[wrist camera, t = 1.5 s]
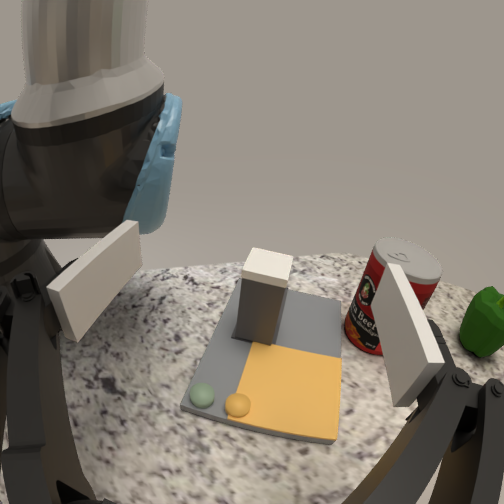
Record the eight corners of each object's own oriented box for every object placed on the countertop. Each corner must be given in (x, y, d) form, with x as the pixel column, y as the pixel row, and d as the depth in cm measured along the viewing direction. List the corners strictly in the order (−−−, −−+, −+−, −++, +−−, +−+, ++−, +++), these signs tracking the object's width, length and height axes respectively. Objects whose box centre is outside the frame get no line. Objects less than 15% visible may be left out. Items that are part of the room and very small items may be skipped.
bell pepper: (445, 321, 33) (477, 264, 28) (481, 327, 32) (513, 276, 27) (459, 364, 26) (503, 304, 21) (497, 367, 25) (538, 313, 20)
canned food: (334, 312, 33) (362, 234, 28) (385, 309, 35) (417, 238, 29) (355, 361, 27) (399, 279, 21) (410, 351, 28) (455, 278, 23)
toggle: (234, 336, 27) (242, 269, 23) (244, 312, 30) (252, 247, 26) (271, 345, 26) (287, 280, 22) (277, 320, 30) (293, 256, 25)
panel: (181, 409, 21) (179, 398, 20) (238, 284, 36) (240, 271, 35) (331, 444, 19) (340, 436, 18) (338, 306, 34) (343, 294, 33)
